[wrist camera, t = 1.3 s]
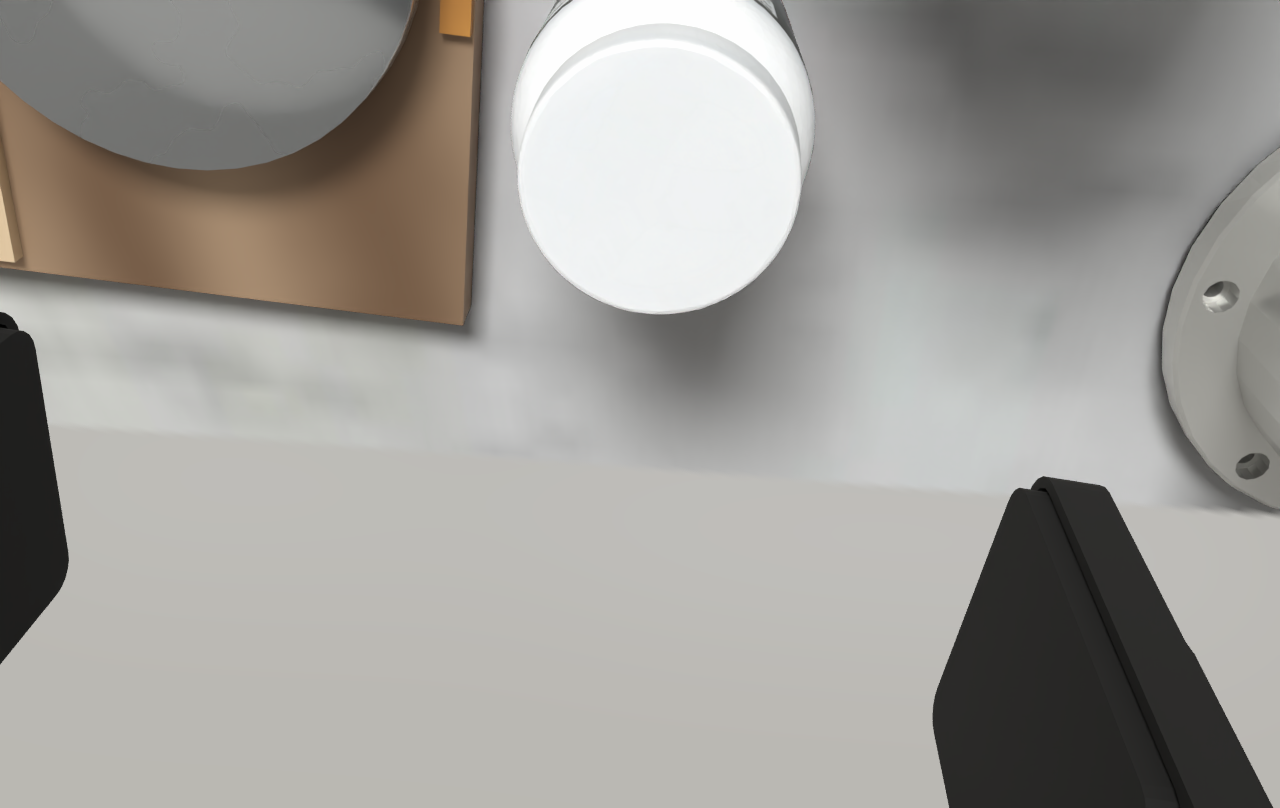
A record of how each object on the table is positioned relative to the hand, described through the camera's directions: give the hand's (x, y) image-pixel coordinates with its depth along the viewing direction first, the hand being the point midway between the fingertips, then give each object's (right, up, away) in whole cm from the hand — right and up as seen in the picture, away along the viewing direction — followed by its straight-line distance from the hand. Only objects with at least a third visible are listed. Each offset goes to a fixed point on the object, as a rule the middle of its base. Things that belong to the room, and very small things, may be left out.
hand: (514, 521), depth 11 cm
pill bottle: (+2, +10, +16) cm, 19 cm away
